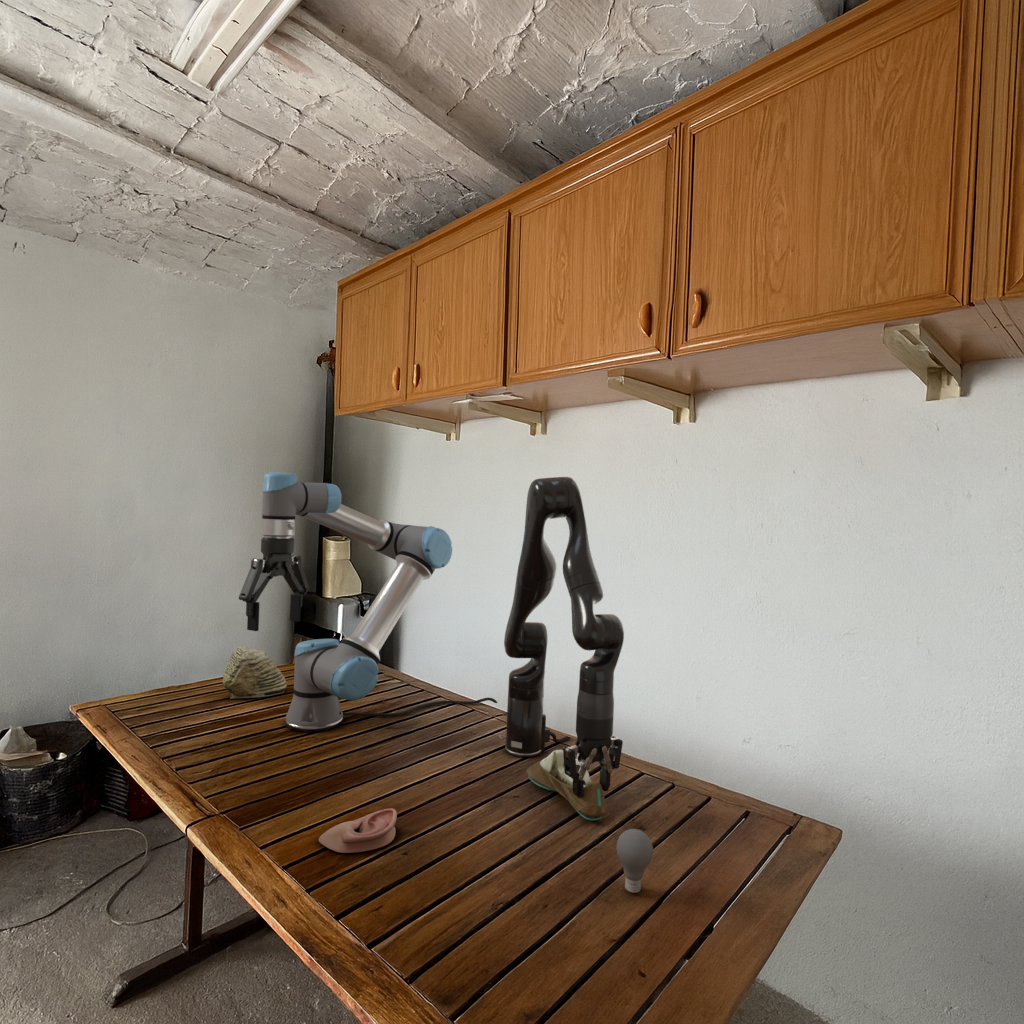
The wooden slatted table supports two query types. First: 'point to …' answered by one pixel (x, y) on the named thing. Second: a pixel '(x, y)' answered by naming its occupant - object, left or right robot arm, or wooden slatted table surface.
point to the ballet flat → (568, 786)
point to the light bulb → (634, 857)
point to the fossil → (252, 674)
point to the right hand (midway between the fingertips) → (591, 792)
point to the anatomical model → (362, 833)
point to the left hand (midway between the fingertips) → (274, 625)
